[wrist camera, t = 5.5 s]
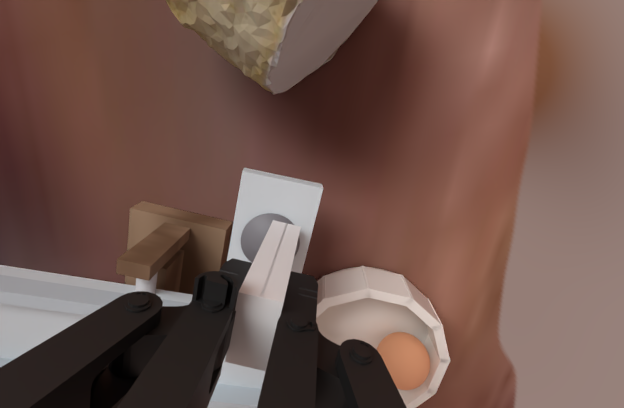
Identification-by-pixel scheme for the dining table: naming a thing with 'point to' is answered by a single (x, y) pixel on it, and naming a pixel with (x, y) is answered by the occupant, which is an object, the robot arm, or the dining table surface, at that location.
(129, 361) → the robot arm
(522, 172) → the dining table surface
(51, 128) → the dining table surface
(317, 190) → the lever
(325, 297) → the bowl
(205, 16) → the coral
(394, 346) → the ball
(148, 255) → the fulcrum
